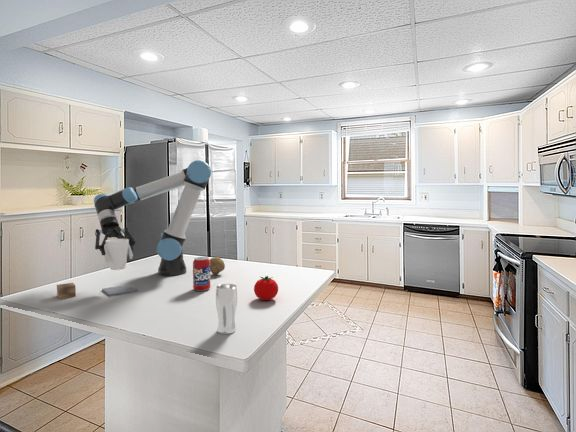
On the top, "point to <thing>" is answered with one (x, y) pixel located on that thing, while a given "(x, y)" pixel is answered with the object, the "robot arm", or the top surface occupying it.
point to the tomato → (266, 288)
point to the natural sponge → (216, 265)
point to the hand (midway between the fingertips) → (120, 258)
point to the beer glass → (226, 307)
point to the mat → (119, 290)
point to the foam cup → (117, 253)
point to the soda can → (201, 274)
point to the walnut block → (66, 290)
